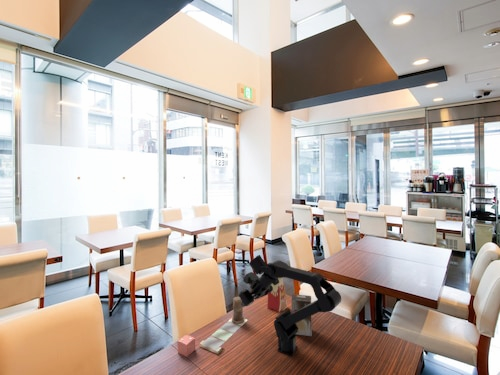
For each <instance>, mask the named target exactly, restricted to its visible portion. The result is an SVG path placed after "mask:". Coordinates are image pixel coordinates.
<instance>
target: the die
mask: <svg viewBox="0 0 500 375" xmlns="http://www.w3.org/2000/svg"><path fill="white" fill-rule="evenodd" d="M195 350H196V337H193V336H192V335H189V334H185V335H184V336H182V337H181V338H180V339H179V340H177V354H179V355H183V356H184V357H186V358H187V357H188V356H189V355H191V354H192V353H193V352H194V351H195Z"/></svg>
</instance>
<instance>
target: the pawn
mask: <svg viewBox="0 0 500 375" xmlns="http://www.w3.org/2000/svg"><path fill="white" fill-rule="evenodd" d="M232 301H233V302H232V308H233V309H232V310H233V311H232V312H233V313H232V314H233V315H232V317H231V318H232V322H233V323H232V324H235V325H237V324H241V323H243V322H244V319H245V317H244V313H243V307H242V306H241V302H242V300H241V298H240V297H239V296H234V297H233V298H232Z"/></svg>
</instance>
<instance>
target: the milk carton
mask: <svg viewBox="0 0 500 375" xmlns="http://www.w3.org/2000/svg"><path fill="white" fill-rule="evenodd" d="M278 279H279V283H278V284H277V285H275V286H274V285H273V283H272V284H271V286H272V287H273V290H272V292H270V293H269V294H267V298H266V299H267V302H266V308H267V310H269V309H270V310H273V311H276V312H278V313H280V312H281V311H282V312H284V311H286V310H285V309H287V308H288V303H287V295H286V288H285V284H284V277H283V278H278Z"/></svg>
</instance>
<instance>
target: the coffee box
mask: <svg viewBox="0 0 500 375" xmlns="http://www.w3.org/2000/svg"><path fill="white" fill-rule="evenodd" d="M310 303H312V296H311V295H304V294H295V293H292V294H291V312H295V311H297V310H299V309H301V308H303V307H304V306H306V305H308V304H310ZM295 324H296V325H297V327H298V328H299V329H298V332H297V333H295V335H297V336H298V335H299V336H305V337H306V336H307V337H312V334H313V332H312V331H313V330H312V329H313V328H312V316H310V317H308V318H306V319H303V320H301V321H299V322H297V323H295Z"/></svg>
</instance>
